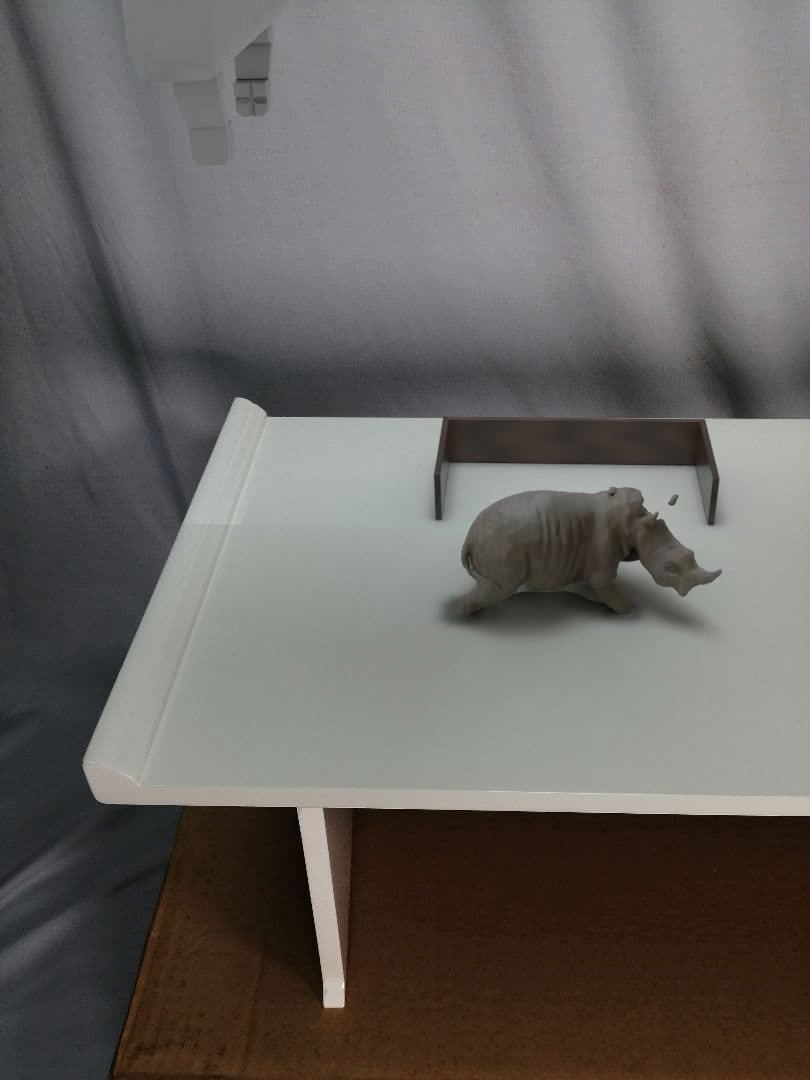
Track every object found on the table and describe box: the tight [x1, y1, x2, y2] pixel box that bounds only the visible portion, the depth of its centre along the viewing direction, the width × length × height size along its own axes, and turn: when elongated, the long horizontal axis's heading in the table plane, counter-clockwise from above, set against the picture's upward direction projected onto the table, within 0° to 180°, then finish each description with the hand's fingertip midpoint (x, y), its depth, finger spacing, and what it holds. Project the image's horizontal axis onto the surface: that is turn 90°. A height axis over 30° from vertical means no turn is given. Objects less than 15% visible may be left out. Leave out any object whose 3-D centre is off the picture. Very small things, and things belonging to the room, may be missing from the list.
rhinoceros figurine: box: [456, 486, 723, 617], centre depth 78 cm, size 8×14×15 cm
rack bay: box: [433, 416, 720, 525], centre depth 92 cm, size 21×10×4 cm, turn 84°
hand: (236, 136), depth 61 cm, fingers open, 8 cm apart
